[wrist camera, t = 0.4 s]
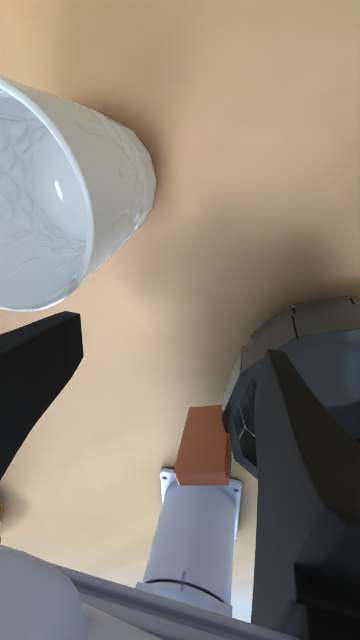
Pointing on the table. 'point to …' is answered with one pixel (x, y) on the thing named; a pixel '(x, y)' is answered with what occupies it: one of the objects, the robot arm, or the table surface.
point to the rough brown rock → (1, 514)
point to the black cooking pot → (225, 420)
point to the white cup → (63, 194)
